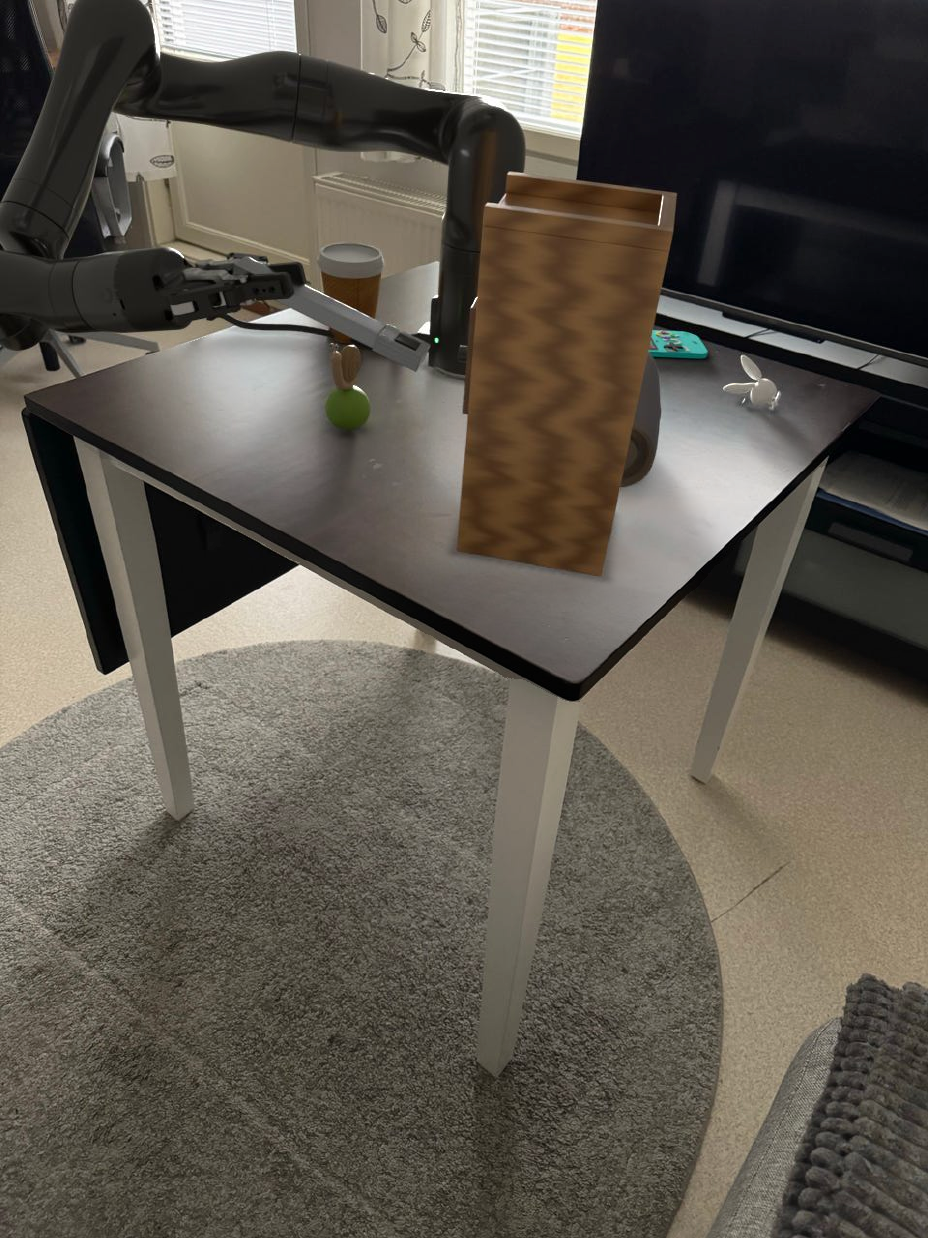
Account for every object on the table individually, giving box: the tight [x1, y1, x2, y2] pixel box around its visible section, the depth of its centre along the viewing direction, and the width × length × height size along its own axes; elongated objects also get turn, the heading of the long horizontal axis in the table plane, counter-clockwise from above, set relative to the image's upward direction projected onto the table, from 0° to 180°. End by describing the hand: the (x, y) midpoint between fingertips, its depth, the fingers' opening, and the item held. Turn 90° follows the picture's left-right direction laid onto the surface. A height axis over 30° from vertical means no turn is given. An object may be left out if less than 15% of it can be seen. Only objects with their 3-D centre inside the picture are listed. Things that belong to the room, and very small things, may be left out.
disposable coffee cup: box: [316, 241, 386, 345], centre depth 131 cm, size 10×10×12 cm
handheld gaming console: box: [649, 329, 708, 359], centre depth 139 cm, size 8×1×15 cm
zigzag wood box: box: [456, 171, 678, 577], centre depth 87 cm, size 17×12×34 cm
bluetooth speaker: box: [620, 351, 662, 489], centre depth 110 cm, size 23×9×10 cm, turn 170°
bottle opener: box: [232, 256, 430, 373], centre depth 85 cm, size 19×3×2 cm, turn 76°
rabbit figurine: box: [723, 354, 782, 412], centre depth 125 cm, size 6×4×8 cm
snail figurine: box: [324, 342, 371, 432], centre depth 108 cm, size 5×6×12 cm
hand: (296, 279), depth 84 cm, fingers closed on bottle opener, 2 cm apart
